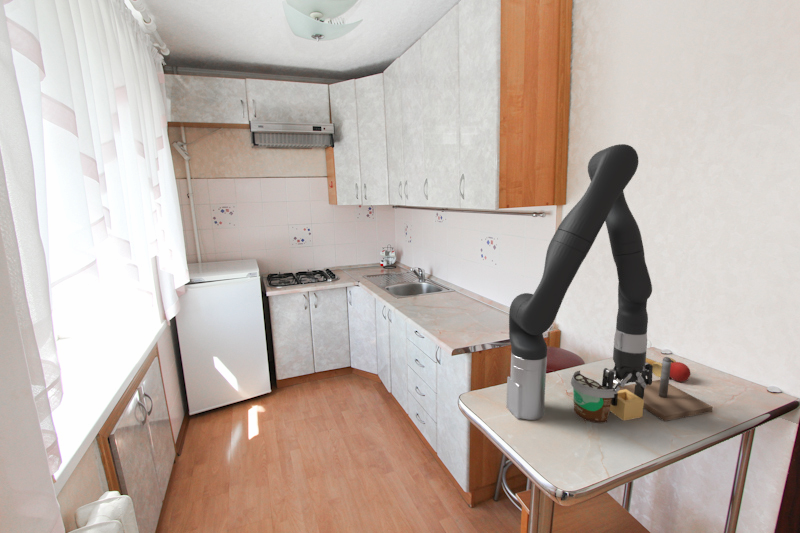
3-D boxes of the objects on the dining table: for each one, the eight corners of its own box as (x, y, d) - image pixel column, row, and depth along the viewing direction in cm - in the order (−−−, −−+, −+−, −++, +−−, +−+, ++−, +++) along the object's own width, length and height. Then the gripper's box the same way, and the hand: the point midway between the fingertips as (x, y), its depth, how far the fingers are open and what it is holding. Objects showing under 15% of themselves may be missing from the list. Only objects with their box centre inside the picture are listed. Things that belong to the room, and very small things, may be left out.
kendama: (625, 368, 134) (679, 384, 117) (626, 350, 134) (681, 363, 117) (639, 367, 137) (695, 383, 120) (641, 350, 137) (696, 363, 120)
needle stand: (664, 421, 101) (669, 373, 98) (617, 391, 116) (621, 349, 114) (712, 411, 104) (718, 365, 102) (660, 383, 120) (665, 343, 117)
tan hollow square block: (623, 420, 102) (625, 403, 101) (606, 408, 107) (607, 392, 106) (642, 417, 103) (644, 400, 102) (624, 405, 109) (626, 389, 108)
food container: (559, 405, 109) (561, 373, 107) (576, 401, 111) (578, 369, 109) (593, 430, 98) (596, 394, 96) (611, 425, 100) (615, 389, 98)
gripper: (618, 355, 97) (614, 413, 100) (664, 347, 100) (658, 404, 103) (597, 344, 104) (593, 399, 107) (639, 337, 107) (635, 390, 110)
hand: (625, 401), depth 105 cm, fingers open, 8 cm apart
